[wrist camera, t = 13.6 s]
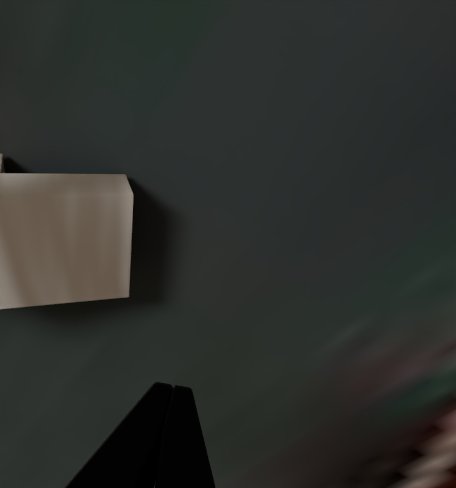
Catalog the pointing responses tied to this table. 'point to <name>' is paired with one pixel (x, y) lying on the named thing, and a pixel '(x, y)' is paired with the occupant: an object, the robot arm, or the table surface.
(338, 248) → the table surface
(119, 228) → the domino
